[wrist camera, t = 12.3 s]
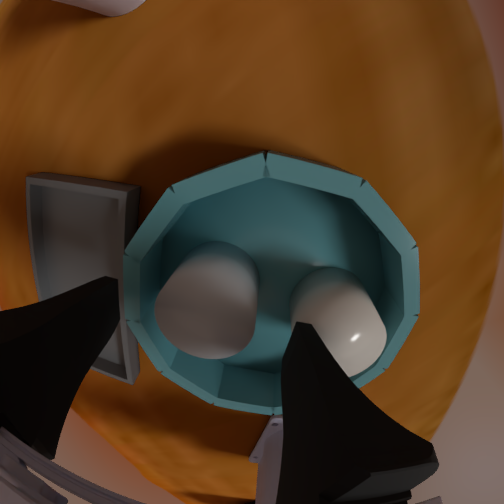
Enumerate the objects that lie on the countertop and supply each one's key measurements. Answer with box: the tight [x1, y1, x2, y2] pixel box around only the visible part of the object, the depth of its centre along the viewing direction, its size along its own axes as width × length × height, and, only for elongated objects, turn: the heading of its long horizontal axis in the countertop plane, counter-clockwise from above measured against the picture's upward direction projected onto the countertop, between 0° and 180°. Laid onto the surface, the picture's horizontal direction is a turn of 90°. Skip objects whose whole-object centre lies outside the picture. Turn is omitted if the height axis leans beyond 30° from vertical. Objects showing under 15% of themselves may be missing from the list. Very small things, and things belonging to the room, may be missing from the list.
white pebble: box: [154, 241, 260, 359], centre depth 12 cm, size 4×4×4 cm
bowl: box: [123, 150, 420, 415], centre depth 13 cm, size 13×13×4 cm
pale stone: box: [289, 268, 387, 377], centre depth 12 cm, size 4×4×4 cm
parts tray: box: [26, 172, 141, 385], centre depth 15 cm, size 13×7×2 cm, turn 168°
